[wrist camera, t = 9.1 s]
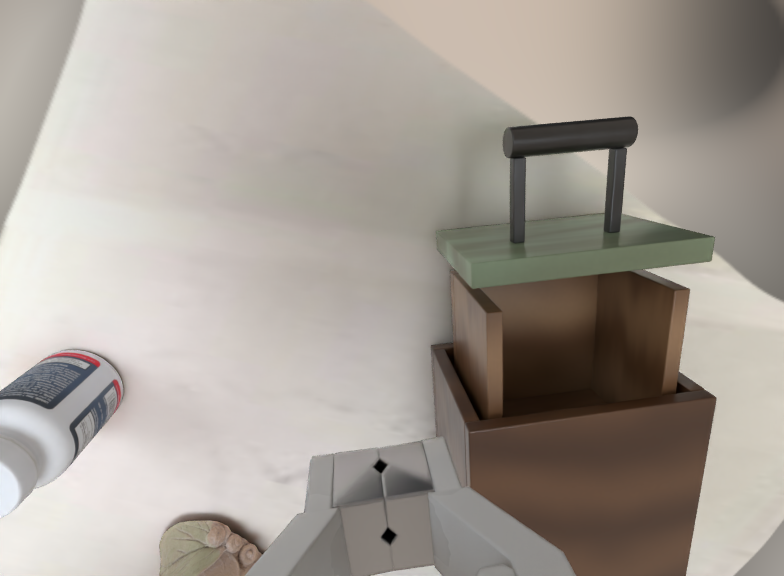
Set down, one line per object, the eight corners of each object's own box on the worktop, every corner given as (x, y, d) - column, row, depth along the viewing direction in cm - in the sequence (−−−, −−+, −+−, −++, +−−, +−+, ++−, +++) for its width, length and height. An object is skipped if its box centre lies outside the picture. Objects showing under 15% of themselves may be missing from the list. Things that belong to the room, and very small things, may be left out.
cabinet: (430, 344, 30) (468, 432, 21) (607, 323, 31) (717, 397, 22) (440, 502, 34) (475, 632, 25) (595, 479, 35) (682, 595, 26)
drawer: (430, 134, 25) (467, 130, 17) (622, 117, 26) (736, 106, 18) (445, 408, 30) (477, 492, 23) (601, 386, 31) (681, 461, 24)
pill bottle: (17, 374, 27) (-127, 475, 19) (85, 332, 27) (-32, 417, 19) (78, 433, 29) (-29, 550, 21) (143, 395, 29) (60, 498, 20)
